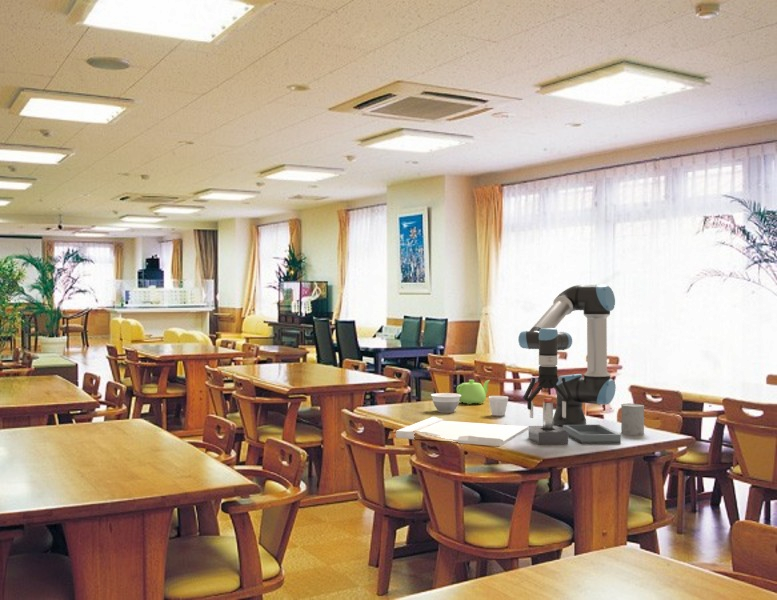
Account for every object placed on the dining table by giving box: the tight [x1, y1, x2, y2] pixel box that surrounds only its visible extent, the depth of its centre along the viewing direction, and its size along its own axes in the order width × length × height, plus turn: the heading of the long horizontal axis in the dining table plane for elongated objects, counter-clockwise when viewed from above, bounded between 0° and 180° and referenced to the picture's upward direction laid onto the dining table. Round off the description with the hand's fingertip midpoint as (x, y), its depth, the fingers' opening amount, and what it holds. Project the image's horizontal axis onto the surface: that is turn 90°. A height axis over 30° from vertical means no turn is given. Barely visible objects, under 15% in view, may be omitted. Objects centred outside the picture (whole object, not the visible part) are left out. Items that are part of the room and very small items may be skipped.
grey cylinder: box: [620, 403, 645, 436], centre depth 346 cm, size 10×10×12 cm
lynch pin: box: [542, 397, 554, 430], centre depth 326 cm, size 4×4×17 cm
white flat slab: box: [395, 416, 529, 447], centre depth 345 cm, size 45×45×4 cm
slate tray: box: [562, 424, 622, 445], centre depth 334 cm, size 26×16×4 cm, turn 4°
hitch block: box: [528, 425, 569, 446], centre depth 326 cm, size 16×12×5 cm
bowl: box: [430, 392, 461, 414], centre depth 412 cm, size 16×16×8 cm
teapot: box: [456, 379, 491, 405], centre depth 444 cm, size 22×15×13 cm
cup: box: [488, 395, 509, 417], centre depth 398 cm, size 10×10×9 cm
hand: (547, 417), depth 326 cm, fingers open, 13 cm apart
